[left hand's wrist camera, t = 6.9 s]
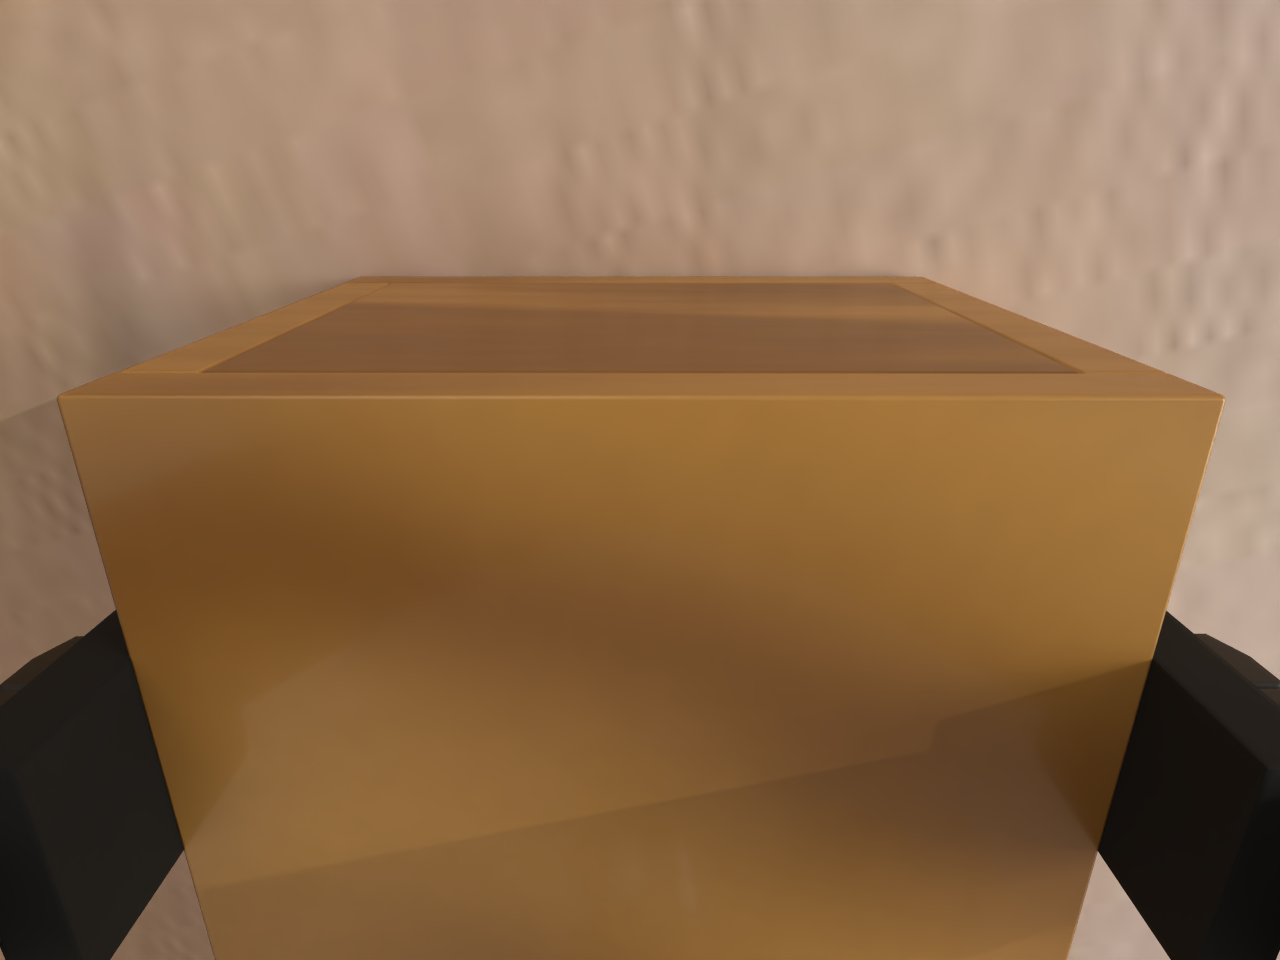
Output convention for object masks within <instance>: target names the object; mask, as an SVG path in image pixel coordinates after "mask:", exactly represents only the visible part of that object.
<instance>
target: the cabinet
mask: <svg viewBox="0 0 1280 960" xmlns="http://www.w3.org/2000/svg"><path fill="white" fill-rule="evenodd" d="M57 401H58V405H59V409H60V412H61V416H62V419H63V423H64V426H65V430H66V433H67V437H68V440H69V444H70V448H71V451H72V455H73V458H74V462H75V465H76V469H77V472H78V476H79V479H80V483H81V486H82V490H83V494H84V497H85V501H86V504H87V508H88V511H89V515H90V518H91V522H92V525H93V529H94V533H95V536H96V540H97V543H98V547H99V550H100V554H101V557H102V561H103V564H104V568H105V572H106V575H107V579H108V582H109V586H110V589H111V593H112V596H113V600H114V603H115V607H116V610H117V614H118V618H119V621H120V625H121V628H122V632H123V635H124V639H125V642H126V646H127V649H128V653H129V657H130V660H131V664H132V667H133V671H134V674H135V678H136V681H137V685H138V688H139V692H140V695H141V699H142V703H143V706H144V710H145V713H146V717H147V720H148V724H149V727H150V731H151V734H152V738H153V742H154V745H155V749H156V752H157V756H158V759H159V763H160V766H161V770H162V773H163V777H164V781H165V784H166V788H167V791H168V795H169V798H170V802H171V805H172V809H173V812H174V816H175V819H176V823H177V827H178V830H179V834H180V837H181V841H182V844H183V848H184V851H185V855H186V858H187V862H188V866H189V869H190V873H191V876H192V880H193V883H194V887H195V890H196V894H197V897H198V901H199V904H200V908H201V912H202V915H203V919H204V922H205V926H206V929H207V933H208V936H209V940H210V943H211V947H212V951H213V954H214V958H215V960H1067V958H1068V954H1069V951H1070V947H1071V944H1072V940H1073V937H1074V933H1075V930H1076V926H1077V922H1078V919H1079V915H1080V912H1081V908H1082V905H1083V901H1084V898H1085V894H1086V891H1087V887H1088V884H1089V880H1090V877H1091V873H1092V870H1093V866H1094V863H1095V859H1096V856H1097V852H1098V849H1099V845H1100V842H1101V838H1102V834H1103V831H1104V827H1105V824H1106V820H1107V817H1108V813H1109V810H1110V806H1111V803H1112V799H1113V796H1114V792H1115V789H1116V785H1117V782H1118V778H1119V775H1120V771H1121V768H1122V764H1123V761H1124V757H1125V754H1126V750H1127V746H1128V743H1129V739H1130V736H1131V732H1132V729H1133V725H1134V722H1135V718H1136V715H1137V711H1138V708H1139V704H1140V701H1141V697H1142V694H1143V690H1144V687H1145V683H1146V680H1147V676H1148V673H1149V669H1150V666H1151V662H1152V658H1153V655H1154V651H1155V648H1156V644H1157V641H1158V637H1159V634H1160V630H1161V627H1162V623H1163V620H1164V616H1165V613H1166V609H1167V606H1168V602H1169V599H1170V595H1171V592H1172V588H1173V585H1174V581H1175V577H1176V574H1177V570H1178V567H1179V563H1180V560H1181V556H1182V553H1183V549H1184V546H1185V542H1186V539H1187V535H1188V532H1189V528H1190V525H1191V521H1192V518H1193V514H1194V511H1195V507H1196V504H1197V500H1198V497H1199V493H1200V489H1201V486H1202V482H1203V479H1204V475H1205V472H1206V468H1207V465H1208V461H1209V458H1210V454H1211V451H1212V447H1213V444H1214V440H1215V437H1216V433H1217V430H1218V426H1219V423H1220V419H1221V416H1222V412H1223V409H1224V405H1225V401H1226V399H1225V397H1224V396H1223V395H1221V394H1219V393H1216V392H1213V391H1211V390H1208V389H1206V388H1203V387H1201V386H1198V385H1196V384H1193V383H1191V382H1188V381H1185V380H1183V379H1180V378H1178V377H1175V376H1173V375H1170V374H1166V373H1165V372H1163V371H1160V370H1158V369H1155V368H1153V367H1150V366H1148V365H1145V364H1143V363H1140V362H1137V361H1135V360H1132V359H1130V358H1127V357H1125V356H1122V355H1120V354H1117V353H1115V352H1112V351H1109V350H1107V349H1104V348H1102V347H1099V346H1097V345H1094V344H1092V343H1089V342H1087V341H1084V340H1082V339H1079V338H1076V337H1074V336H1071V335H1069V334H1066V333H1064V332H1061V331H1059V330H1056V329H1054V328H1051V327H1048V326H1046V325H1043V324H1041V323H1038V322H1036V321H1033V320H1031V319H1028V318H1026V317H1023V316H1021V315H1018V314H1015V313H1013V312H1010V311H1008V310H1005V309H1003V308H1000V307H998V306H995V305H993V304H990V303H988V302H985V301H982V300H980V299H977V298H975V297H972V296H970V295H967V294H965V293H962V292H960V291H957V290H954V289H952V288H949V287H947V286H944V285H942V284H939V283H936V282H934V281H931V280H929V279H926V278H924V277H359V278H356V279H354V280H351V281H348V282H346V283H344V284H341V285H339V286H336V287H334V288H331V289H329V290H326V291H324V292H321V293H319V294H316V295H313V296H311V297H308V298H306V299H303V300H301V301H298V302H296V303H293V304H290V305H288V306H285V307H283V308H280V309H278V310H275V311H273V312H270V313H268V314H265V315H262V316H260V317H257V318H255V319H252V320H250V321H247V322H245V323H242V324H240V325H237V326H234V327H232V328H229V329H227V330H224V331H222V332H219V333H217V334H214V335H212V336H209V337H206V338H204V339H201V340H199V341H196V342H194V343H191V344H189V345H186V346H184V347H181V348H178V349H176V350H173V351H171V352H168V353H166V354H163V355H161V356H158V357H156V358H153V359H150V360H148V361H145V362H143V363H140V364H138V365H135V366H133V367H130V368H128V369H125V370H123V371H120V372H119V373H113V374H111V375H108V376H105V377H103V378H100V379H98V380H95V381H93V382H90V383H88V384H85V385H82V386H80V387H77V388H75V389H72V390H70V391H67V392H65V393H62V394H60V395H58V397H57Z"/></svg>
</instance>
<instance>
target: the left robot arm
mask: <svg viewBox="0 0 1280 960" xmlns="http://www.w3.org/2000/svg"><path fill="white" fill-rule="evenodd" d="M183 850H184V848H183V844H182V841H181V837H180V834H179V830H178V827H177V823H176V819H175V816H174V812H173V809H172V805H171V802H170V798H169V795H168V791H167V788H166V784H165V781H164V777H163V773H162V770H161V766H160V763H159V759H158V756H157V752H156V749H155V745H154V742H153V738H152V734H151V731H150V727H149V724H148V720H147V717H146V713H145V710H144V706H143V703H142V699H141V695H140V692H139V688H138V685H137V681H136V678H135V674H134V671H133V667H132V664H131V660H130V657H129V653H128V649H127V646H126V642H125V639H124V635H123V632H122V628H121V625H120V621H119V618H118V614H117V610H115V611H114V612H113V613H111V614H110V615H109V616H108V617H107V618H105V619H104V620H103V621H102V622H101V623H99V624H98V625H97V626H96V627H95V628H94V629H92V630H91V631H90V632H89V633H88V634H86V635H85V636H76V637H74V638H72V639H70V640H68V641H66V642H65V643H63V644H61V645H59V646H57V647H55V648H53V649H51V650H49V651H47V652H45V653H43V654H41V655H39V656H37V657H35V658H34V659H32V660H31V661H29V662H28V663H27V664H26V665H24V666H23V667H22V668H21V669H19V670H18V671H17V672H16V673H14V674H13V675H12V676H11V677H9V678H8V679H7V680H6V681H4V682H3V683H2V684H1V685H0V948H1V950H2V953H3V955H4V957H5V960H110V959H111V958H112V956H113V955H114V953H115V952H116V950H117V949H118V947H119V946H120V944H121V943H122V941H123V940H124V938H125V937H126V935H127V934H128V932H129V931H130V929H131V928H132V926H133V925H134V923H135V922H136V920H137V919H138V917H139V916H140V914H141V913H142V911H143V910H144V908H145V907H146V905H147V904H148V902H149V901H150V899H151V898H152V896H153V895H154V893H155V892H156V890H157V889H158V888H159V886H160V885H161V883H162V882H163V880H164V879H165V877H166V876H167V874H168V873H169V871H170V870H171V868H172V867H173V865H174V864H175V862H176V861H177V859H178V858H179V856H180V855H181V853H182V852H183ZM1098 852H1099V853H1100V855H1101V856H1102V858H1103V859H1104V861H1105V862H1106V864H1107V865H1108V867H1109V868H1110V870H1111V871H1112V873H1113V874H1114V876H1115V877H1116V879H1117V880H1118V882H1119V883H1120V885H1121V886H1122V888H1123V889H1124V891H1125V892H1126V894H1127V895H1128V897H1129V898H1130V900H1131V901H1132V903H1133V904H1134V905H1135V907H1136V908H1137V910H1138V911H1139V913H1140V914H1141V916H1142V917H1143V919H1144V920H1145V922H1146V923H1147V925H1148V926H1149V928H1150V929H1151V931H1152V932H1153V934H1154V935H1155V937H1156V938H1157V940H1158V941H1159V943H1160V944H1161V946H1162V947H1163V949H1164V950H1165V952H1166V953H1167V955H1168V956H1169V958H1170V959H1171V960H1276V958H1277V956H1278V953H1279V951H1280V680H1279V679H1278V678H1276V677H1275V676H1274V675H1272V674H1271V673H1270V672H1269V671H1267V670H1266V669H1265V668H1264V667H1262V666H1261V665H1260V664H1259V663H1257V662H1256V661H1255V660H1254V659H1252V658H1251V657H1250V656H1248V655H1246V654H1244V653H1242V652H1240V651H1238V650H1236V649H1234V648H1232V647H1230V646H1228V645H1226V644H1225V643H1223V642H1221V641H1219V640H1217V639H1215V638H1213V637H1211V636H1209V635H1207V634H1193V633H1192V632H1191V631H1190V630H1189V629H1188V628H1186V627H1185V626H1184V625H1183V624H1182V623H1180V622H1179V621H1178V620H1177V619H1176V618H1174V617H1173V616H1172V615H1171V614H1170V613H1168V612H1167V611H1166V613H1165V616H1164V620H1163V623H1162V627H1161V630H1160V634H1159V637H1158V641H1157V644H1156V648H1155V651H1154V655H1153V658H1152V662H1151V666H1150V669H1149V673H1148V676H1147V680H1146V683H1145V687H1144V690H1143V694H1142V697H1141V701H1140V704H1139V708H1138V711H1137V715H1136V718H1135V722H1134V725H1133V729H1132V732H1131V736H1130V739H1129V743H1128V746H1127V750H1126V754H1125V757H1124V761H1123V764H1122V768H1121V771H1120V775H1119V778H1118V782H1117V785H1116V789H1115V792H1114V796H1113V799H1112V803H1111V806H1110V810H1109V813H1108V817H1107V820H1106V824H1105V827H1104V831H1103V834H1102V838H1101V842H1100V845H1099V849H1098Z"/></svg>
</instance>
